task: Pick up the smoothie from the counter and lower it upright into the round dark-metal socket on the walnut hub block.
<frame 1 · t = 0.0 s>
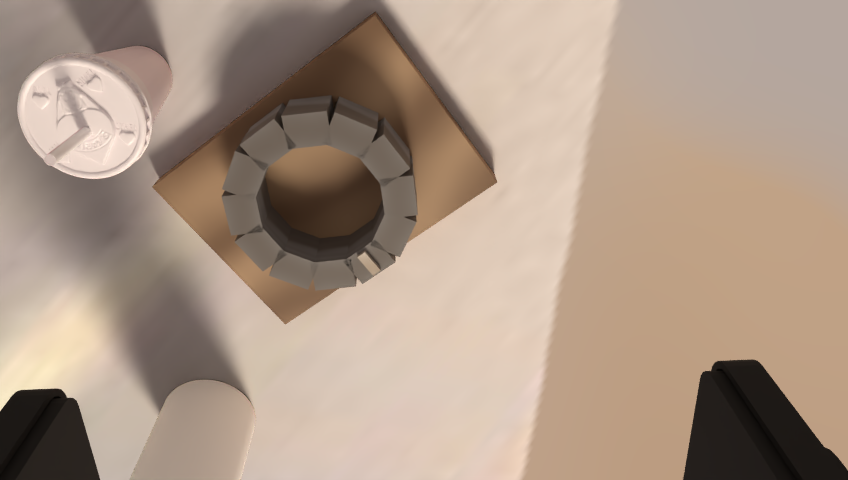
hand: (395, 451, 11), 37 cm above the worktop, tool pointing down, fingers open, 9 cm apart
hub block: (327, 176, 49), on the worktop
smoothie: (143, 75, 46), on the worktop
cylindrical container: (210, 415, 57), on the worktop
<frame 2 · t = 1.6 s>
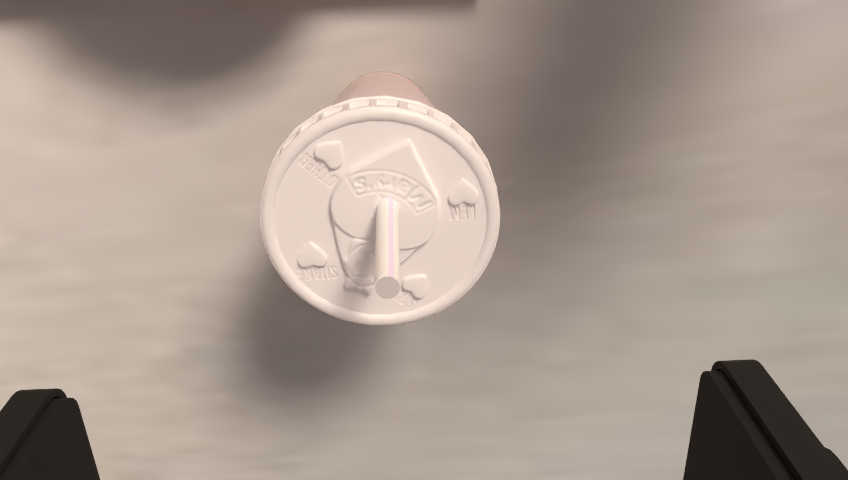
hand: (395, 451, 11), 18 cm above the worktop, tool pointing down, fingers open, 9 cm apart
smoothie: (383, 119, 28), on the worktop
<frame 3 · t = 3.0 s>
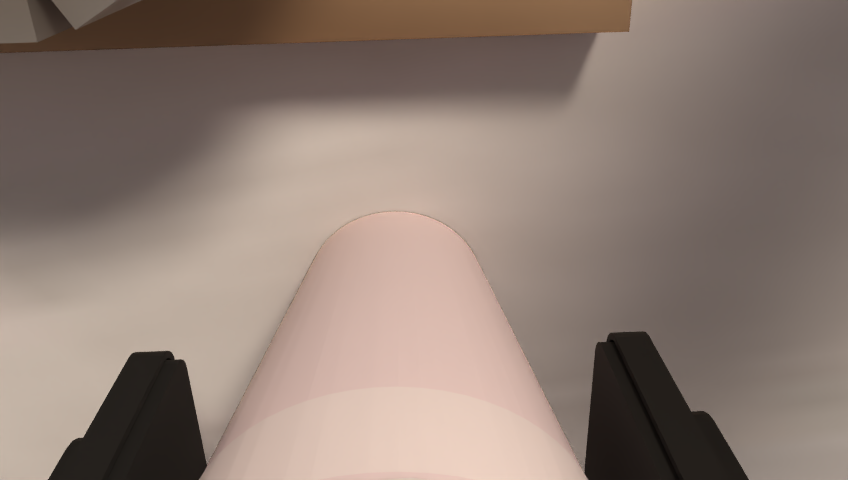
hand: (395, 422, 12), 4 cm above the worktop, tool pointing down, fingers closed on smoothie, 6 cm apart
smoothie: (395, 287, 16), on the worktop, touching gripper
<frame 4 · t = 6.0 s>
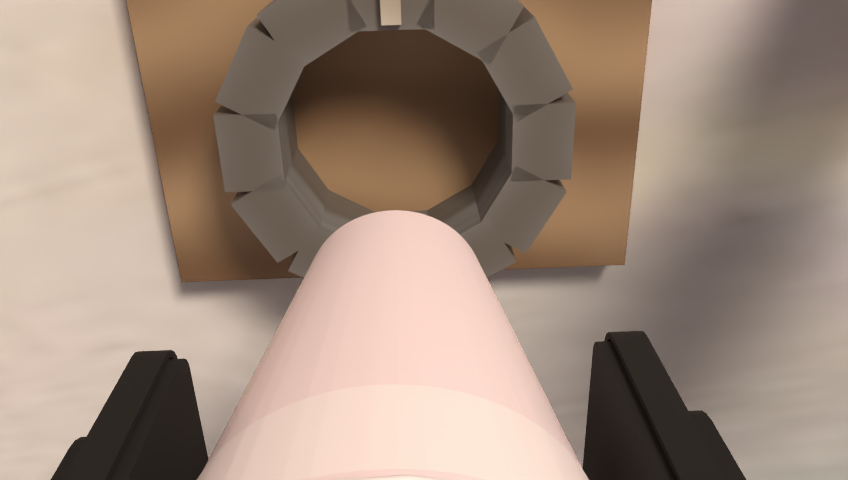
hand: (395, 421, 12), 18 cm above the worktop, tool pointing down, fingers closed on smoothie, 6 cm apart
hub block: (397, 106, 28), on the worktop
smoothie: (395, 286, 16), point 14 cm above the worktop, touching gripper
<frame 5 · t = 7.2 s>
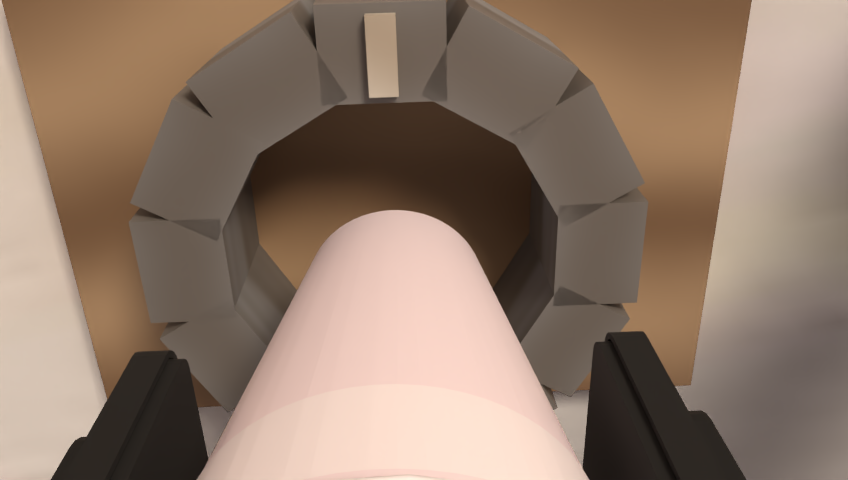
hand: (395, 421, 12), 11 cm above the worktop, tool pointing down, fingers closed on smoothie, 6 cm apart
hub block: (393, 184, 21), on the worktop
smoothie: (395, 286, 16), point 6 cm above the worktop, touching gripper
when the fingers open (6 cm above the worktop, at t = 8.5 s): smoothie stays where it is, resting on hub block.
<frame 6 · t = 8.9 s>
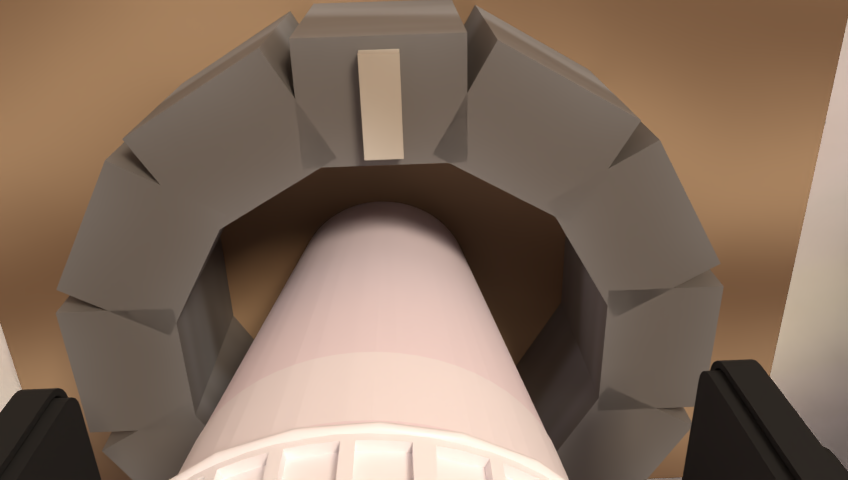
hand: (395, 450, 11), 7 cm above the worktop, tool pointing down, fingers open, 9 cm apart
hub block: (396, 240, 18), on the worktop
smoothie: (384, 273, 17), point 1 cm above the worktop, touching hub block
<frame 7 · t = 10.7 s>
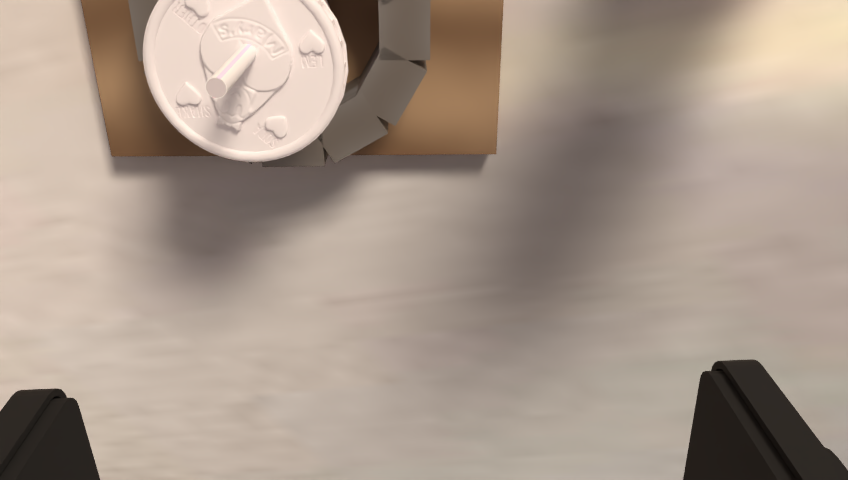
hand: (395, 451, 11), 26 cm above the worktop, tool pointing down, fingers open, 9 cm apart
hub block: (298, 6, 33), on the worktop
smoothie: (288, 15, 32), point 1 cm above the worktop, touching hub block
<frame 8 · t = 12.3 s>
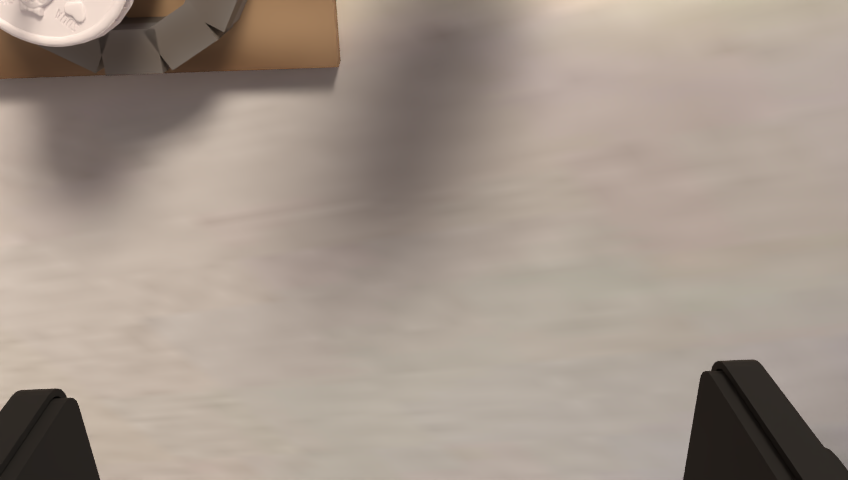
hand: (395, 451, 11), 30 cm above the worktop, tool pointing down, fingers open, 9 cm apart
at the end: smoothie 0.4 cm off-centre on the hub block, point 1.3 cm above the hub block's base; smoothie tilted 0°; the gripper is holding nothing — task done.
